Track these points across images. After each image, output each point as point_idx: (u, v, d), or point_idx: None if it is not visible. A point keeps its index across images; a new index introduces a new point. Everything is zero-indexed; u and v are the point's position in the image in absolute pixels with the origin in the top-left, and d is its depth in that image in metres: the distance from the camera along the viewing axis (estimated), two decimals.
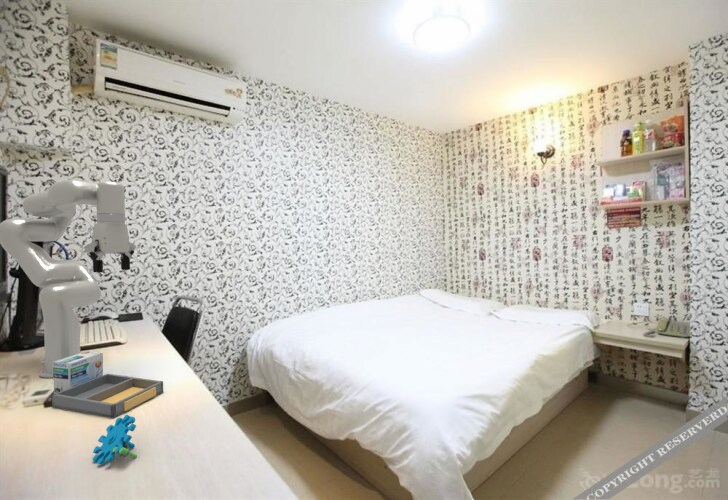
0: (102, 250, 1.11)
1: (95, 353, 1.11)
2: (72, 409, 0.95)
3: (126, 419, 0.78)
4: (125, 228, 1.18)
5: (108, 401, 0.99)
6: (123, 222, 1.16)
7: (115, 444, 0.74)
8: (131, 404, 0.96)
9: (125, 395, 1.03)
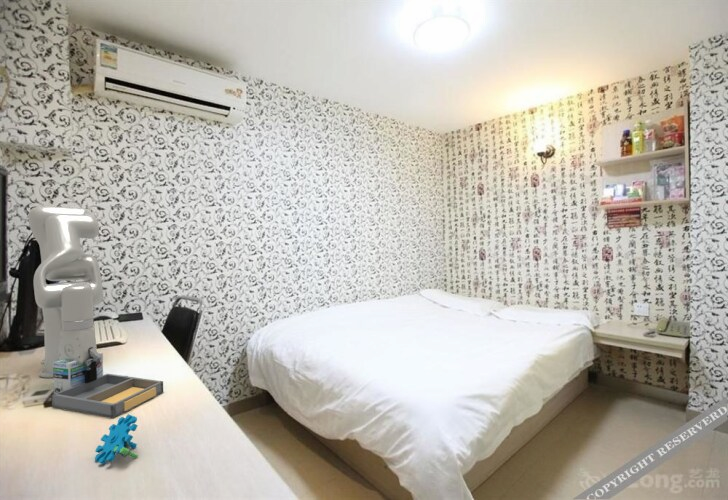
0: None
1: None
2: (72, 409, 0.95)
3: (128, 419, 0.79)
4: None
5: (108, 401, 0.99)
6: None
7: (116, 444, 0.74)
8: (131, 404, 0.96)
9: (125, 395, 1.03)
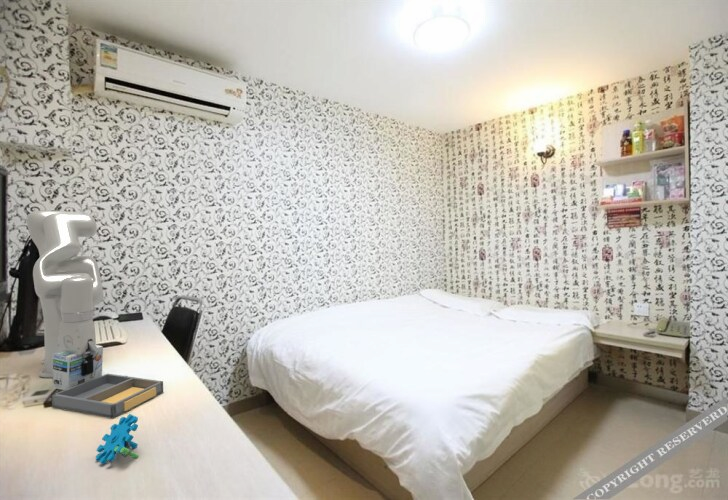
0: None
1: None
2: (72, 409, 0.95)
3: (129, 418, 0.79)
4: None
5: (108, 401, 0.99)
6: None
7: (117, 443, 0.74)
8: (131, 404, 0.96)
9: (125, 395, 1.03)
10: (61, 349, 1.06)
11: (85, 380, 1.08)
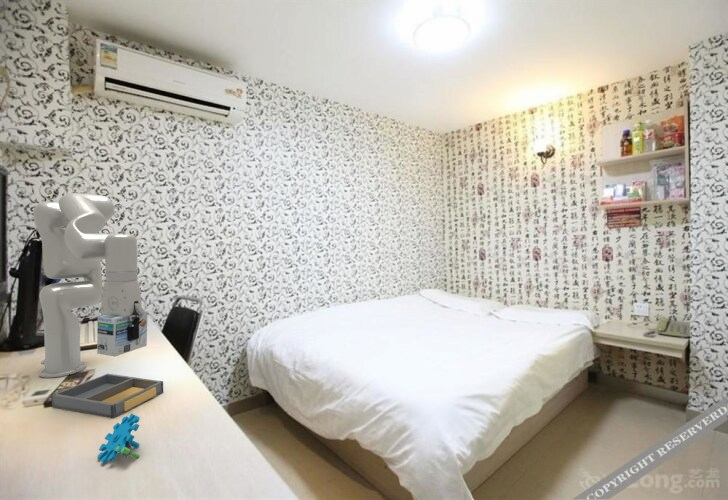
0: None
1: None
2: (72, 409, 0.95)
3: (131, 418, 0.79)
4: None
5: (108, 401, 0.99)
6: None
7: (118, 443, 0.74)
8: (131, 404, 0.96)
9: (125, 395, 1.03)
10: (105, 312, 0.98)
11: (131, 346, 0.99)
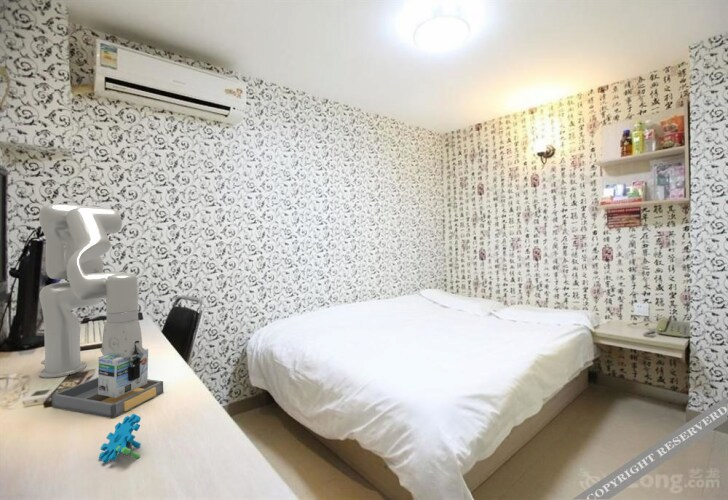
0: None
1: None
2: (72, 409, 0.95)
3: (132, 418, 0.79)
4: None
5: (108, 401, 0.99)
6: None
7: (119, 443, 0.74)
8: (131, 404, 0.96)
9: (125, 395, 1.03)
10: (106, 353, 0.98)
11: (132, 386, 0.99)
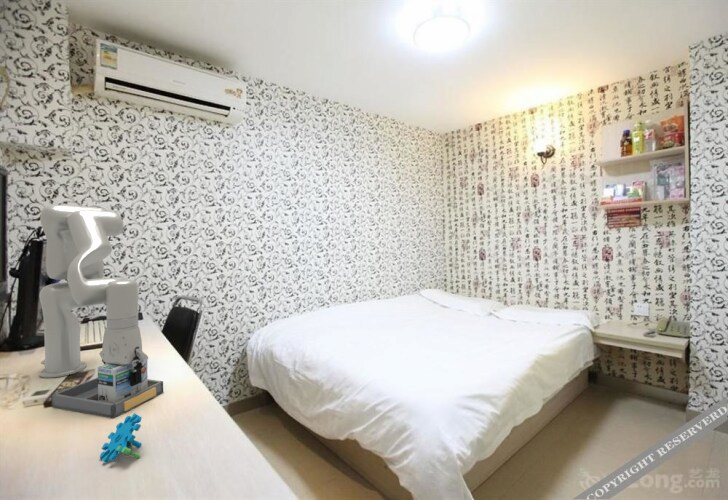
0: None
1: None
2: (72, 409, 0.95)
3: (134, 418, 0.79)
4: None
5: None
6: None
7: (120, 443, 0.74)
8: (131, 404, 0.96)
9: None
10: (106, 359, 0.98)
11: (131, 394, 1.00)
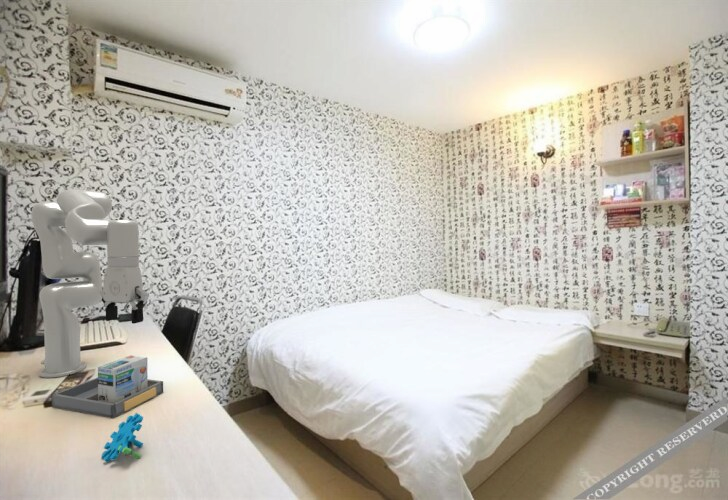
0: None
1: (140, 358, 1.04)
2: (72, 409, 0.95)
3: (135, 418, 0.79)
4: None
5: None
6: None
7: (121, 442, 0.74)
8: (131, 404, 0.96)
9: None
10: (107, 297, 0.99)
11: (131, 394, 1.00)
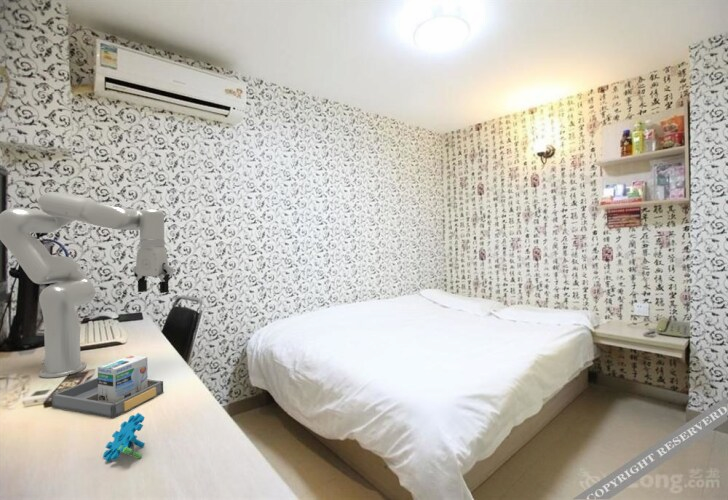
0: None
1: (140, 358, 1.04)
2: (72, 409, 0.95)
3: (137, 417, 0.79)
4: None
5: None
6: None
7: (122, 442, 0.75)
8: (131, 404, 0.96)
9: None
10: (139, 272, 1.22)
11: (131, 394, 1.00)
